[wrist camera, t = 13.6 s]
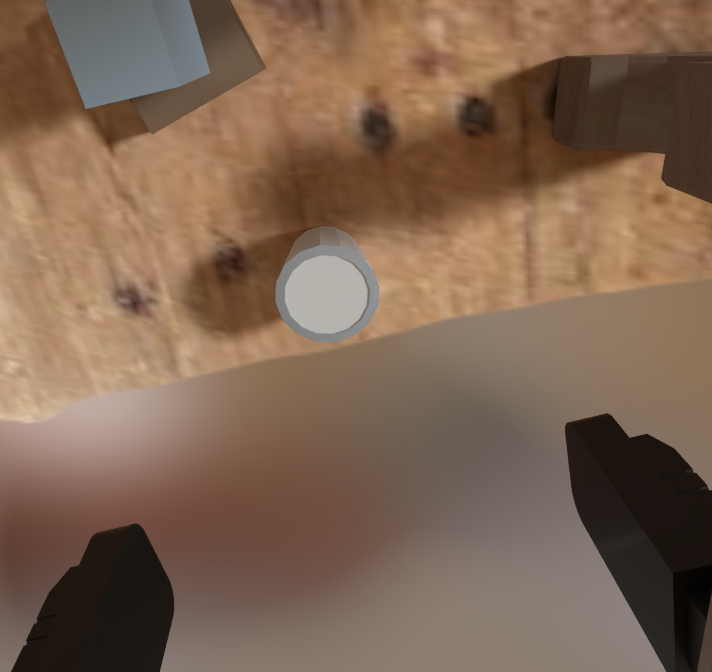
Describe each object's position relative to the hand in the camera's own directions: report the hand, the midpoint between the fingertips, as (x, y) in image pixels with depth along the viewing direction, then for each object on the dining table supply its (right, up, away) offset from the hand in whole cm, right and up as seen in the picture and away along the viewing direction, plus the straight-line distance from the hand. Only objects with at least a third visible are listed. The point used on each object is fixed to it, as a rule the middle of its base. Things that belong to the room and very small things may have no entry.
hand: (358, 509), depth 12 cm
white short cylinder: (-2, +9, +36) cm, 37 cm away
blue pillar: (-11, +21, +25) cm, 35 cm away
